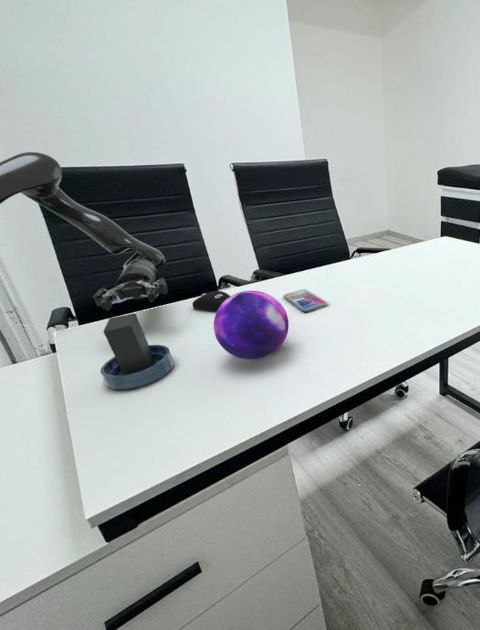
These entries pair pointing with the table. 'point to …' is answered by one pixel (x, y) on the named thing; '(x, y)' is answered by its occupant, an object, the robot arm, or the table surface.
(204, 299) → the computer mouse
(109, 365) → the bowl
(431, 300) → the table surface
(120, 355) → the dark grey upright block
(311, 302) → the smartphone
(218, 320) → the decorative orb
